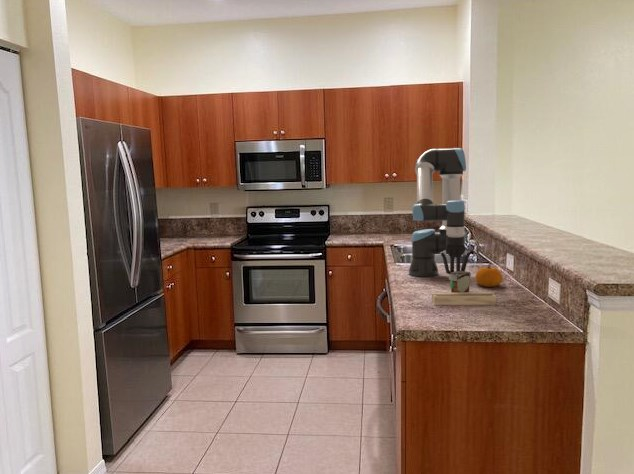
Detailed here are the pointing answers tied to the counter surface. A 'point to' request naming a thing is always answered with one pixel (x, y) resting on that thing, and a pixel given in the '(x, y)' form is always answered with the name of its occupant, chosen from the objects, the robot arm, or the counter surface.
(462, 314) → the counter surface
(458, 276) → the food container
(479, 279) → the fruit
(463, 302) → the board
